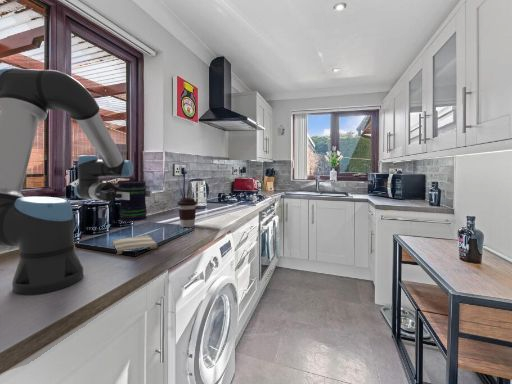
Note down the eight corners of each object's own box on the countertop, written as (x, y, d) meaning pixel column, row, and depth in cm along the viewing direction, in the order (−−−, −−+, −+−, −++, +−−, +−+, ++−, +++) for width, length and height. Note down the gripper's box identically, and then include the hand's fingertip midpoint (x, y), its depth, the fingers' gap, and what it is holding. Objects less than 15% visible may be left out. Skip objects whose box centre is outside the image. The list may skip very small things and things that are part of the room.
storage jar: (136, 222, 97) (134, 183, 96) (114, 220, 99) (112, 182, 98) (152, 217, 107) (150, 181, 105) (131, 216, 109) (129, 181, 107)
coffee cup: (174, 227, 135) (173, 199, 134) (184, 223, 145) (184, 197, 143) (190, 229, 133) (190, 200, 131) (200, 225, 142) (200, 198, 141)
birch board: (157, 247, 101) (157, 244, 101) (117, 254, 93) (117, 250, 93) (148, 238, 114) (148, 235, 114) (112, 243, 106) (112, 240, 106)
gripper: (127, 197, 120) (162, 201, 111) (76, 204, 100) (114, 208, 90) (126, 181, 119) (162, 183, 110) (75, 184, 99) (113, 187, 90)
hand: (140, 194), depth 100 cm, fingers closed on storage jar, 10 cm apart
